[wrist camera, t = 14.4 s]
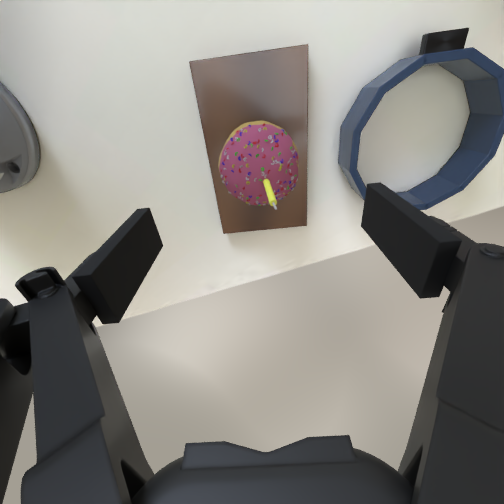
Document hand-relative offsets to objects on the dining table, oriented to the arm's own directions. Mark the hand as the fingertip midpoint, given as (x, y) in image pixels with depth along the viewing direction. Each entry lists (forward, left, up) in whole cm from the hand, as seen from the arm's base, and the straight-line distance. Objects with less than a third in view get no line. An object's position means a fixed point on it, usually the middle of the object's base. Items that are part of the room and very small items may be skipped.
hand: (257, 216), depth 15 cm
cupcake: (0, 0, -18) cm, 18 cm away
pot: (+18, 0, -19) cm, 26 cm away
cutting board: (0, 0, -19) cm, 19 cm away
